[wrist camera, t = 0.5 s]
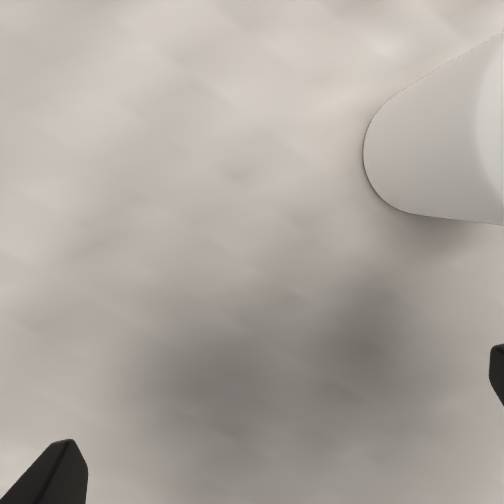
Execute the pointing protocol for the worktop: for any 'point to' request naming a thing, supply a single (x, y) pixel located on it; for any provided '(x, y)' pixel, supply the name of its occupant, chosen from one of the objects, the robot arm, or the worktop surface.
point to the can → (444, 140)
